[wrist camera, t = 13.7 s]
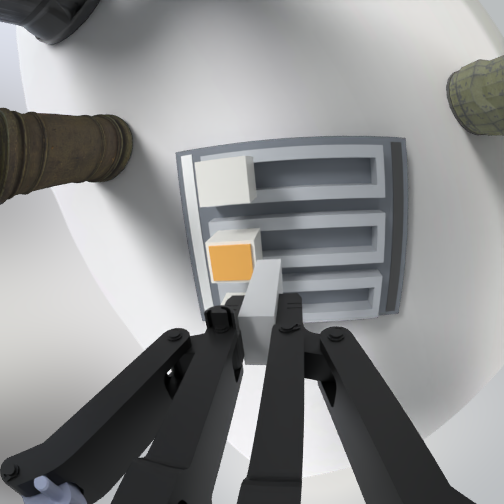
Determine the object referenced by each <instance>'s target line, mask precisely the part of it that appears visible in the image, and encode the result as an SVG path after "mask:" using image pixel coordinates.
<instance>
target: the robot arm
mask: <svg viewBox="0 0 504 504" xmlns="http://www.w3.org/2000/svg"><path fill="white" fill-rule="evenodd" d="M98 2H99V0H0V22H5V23H10V24H15V25H19V26H23V27H24V28H25V29H27V30H28V31H29V32H30V33H32V34H33V35H35V37H36V38H37V39H38V40H39V41H41V42H44V43H47V44H55V43H58V42H60V41H62V40H64V39H65V38H67V37H68V36H69V35H71V34H72V33H73V32H74V31H75V30H76V29H77V28H78V27H79V26H80V25H81V24H82V23H83V22H84V21H85V20H86V19H87V18H88V16H89V15H90V14H91V13H92V11H93V10H94V8H95V7H96V5H97V4H98ZM204 316H205V321H206V326H207V330H206V332H205V333H204V334H200V335H194V336H190V335H189V332H188V331H187V330H185V329H182V328H174V329H171V330H168V331H166V332H165V333H163V334H162V335H161V336H160V337H159V338H158V339H157V340H156V341H155V342H154V343H153V344H151V345H150V346H149V347H148V348H147V349H146V350H145V351H144V352H143V353H142V354H141V355H140V356H138V357H137V358H136V359H135V360H134V361H133V362H132V363H131V364H129V365H128V366H127V367H126V368H125V369H124V370H123V371H122V372H121V373H120V374H119V375H117V376H116V377H115V378H114V379H113V380H112V381H111V382H110V383H109V384H108V385H106V386H105V387H104V388H103V389H102V390H101V391H100V392H99V393H98V394H97V395H95V396H94V397H93V398H92V399H91V400H90V401H89V402H88V403H87V404H86V405H84V406H83V407H82V408H81V409H80V410H79V411H78V412H77V413H76V414H75V415H74V416H73V417H71V418H70V419H69V420H68V421H67V422H66V423H65V424H64V425H63V426H62V427H60V428H59V429H58V430H57V431H56V432H55V433H54V434H53V435H52V436H50V437H49V438H48V439H47V440H46V441H45V442H44V443H42V444H40V445H37V446H35V447H33V448H30V449H28V450H26V451H23V452H21V453H19V454H16V455H14V456H11V457H9V458H7V459H6V460H4V462H3V463H2V465H1V469H0V473H1V477H2V480H3V481H4V482H5V483H6V484H7V485H8V486H10V487H11V488H12V489H13V490H15V491H16V492H17V493H19V494H20V495H21V496H22V498H23V501H24V504H93V503H95V502H96V501H97V500H99V499H101V498H102V497H103V496H104V495H105V494H107V493H108V492H109V491H110V490H111V488H112V487H113V486H114V485H115V484H116V483H117V482H118V481H119V480H120V478H121V477H122V476H123V475H124V474H125V475H124V477H123V479H122V481H121V483H120V485H119V488H118V489H117V491H116V494H115V496H114V498H113V500H112V502H111V504H212V500H211V499H212V493H213V489H214V485H215V481H216V478H217V474H218V471H219V467H220V463H221V459H222V455H223V452H224V448H225V444H226V440H227V436H228V432H229V428H230V424H231V420H232V416H233V412H234V408H235V404H236V400H237V396H238V392H239V388H240V384H241V380H242V376H243V364H242V363H243V359H244V360H245V365H266V372H265V378H264V384H263V390H262V397H261V403H260V409H259V414H258V420H257V426H256V432H255V437H254V443H253V448H252V454H251V459H250V464H249V470H248V474H247V477H246V478H245V479H244V480H243V482H242V484H241V488H240V492H239V496H238V501H237V504H301V488H302V463H303V437H304V378H307V379H312V380H317V381H318V386H319V388H320V390H321V393H322V395H323V398H324V400H325V403H326V405H327V407H328V410H329V412H330V415H331V417H332V420H333V422H334V425H335V427H336V430H337V432H338V435H339V437H340V439H341V442H342V444H343V447H344V449H345V452H346V454H347V457H348V459H349V462H350V464H351V467H352V469H353V472H354V474H355V477H356V480H357V482H358V485H359V487H360V490H361V492H362V495H363V497H364V500H365V502H366V504H476V503H474V502H473V501H471V500H470V499H468V498H467V497H465V496H464V495H463V494H461V493H460V492H458V491H457V490H455V489H454V488H453V487H451V486H450V484H449V483H448V481H447V479H446V478H445V476H444V474H443V472H442V471H441V469H440V467H439V466H438V464H437V462H436V461H435V459H434V457H433V456H432V454H431V453H430V451H429V449H428V448H427V446H426V445H425V443H424V441H423V439H422V438H421V436H420V435H419V433H418V431H417V430H416V428H415V427H414V425H413V424H412V422H411V420H410V419H409V417H408V416H407V414H406V413H405V411H404V410H403V408H402V406H401V405H400V403H399V402H398V400H397V399H396V397H395V396H394V394H393V393H392V391H391V390H390V388H389V387H388V385H387V384H386V382H385V381H384V379H383V378H382V376H381V375H380V373H379V372H378V370H377V369H376V367H375V366H374V365H373V363H372V362H371V360H370V359H369V357H368V356H367V354H366V353H365V351H364V350H363V349H362V347H361V346H360V344H359V343H358V341H357V340H356V339H355V337H354V336H353V334H352V333H351V332H350V331H349V330H348V329H346V328H343V327H337V326H336V327H329V328H326V329H325V330H323V331H322V332H321V334H316V333H312V332H309V331H308V330H306V329H305V328H304V326H303V314H302V297H301V296H300V295H299V294H298V293H283V283H282V267H281V259H267V260H257V262H256V265H255V268H254V271H253V274H252V277H251V279H250V282H249V285H248V288H247V291H246V294H245V295H232V296H231V297H230V298H229V299H228V300H227V301H226V303H225V305H218V306H213V307H210V308H209V309H207V310H206V311H205V312H204ZM170 369H171V371H172V372H171V373H170V374H169V375H167V372H168V371H169V370H170ZM154 438H155V439H154ZM153 440H154V441H153ZM152 441H153V443H152V445H151V447H150V449H149V451H148V453H147V455H146V456H145V457H144V458H139V456H140V455H141V454H142V453H143V452H144V450H145V449H146V448H147V447H148V446H149V445H150V443H151V442H152Z"/></svg>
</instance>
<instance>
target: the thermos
mask: <svg viewBox="0 0 504 504" xmlns="http://www.w3.org/2000/svg"><path fill="white" fill-rule="evenodd" d="M446 90H447V99H448V102H449V105H450V108H451V110H452V112H453V114H454V116H455V118H456V119H457V120H458V122H459V123H460V124H461V126H462V127H464V128H465V129H466V130H467V131H469V132H470V133H473V134H475V135H488V136H495V135H504V55H503V56H500V57H498V58H495V59H493V60H490V61H488V60H481V59H480V60H477V61H475V62H473V63H470V64H468V65H466V66H464V67H462V68H461V69H460V70H459V71H457V72H454V73H452V75H451V76H450V77H449V79H448V82H447V86H446Z"/></svg>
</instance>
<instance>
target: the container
mask: <svg viewBox="0 0 504 504" xmlns="http://www.w3.org/2000/svg"><path fill="white" fill-rule="evenodd" d="M132 144H133V142H132V134H131V131H130V129H129V127H128V125H127V124H126V123H125V122H124V121H123V120H122V119H121V118H119V117H117V116H114V115H102V114H100V115H94V116H89V115H81V116H72V115H60V114H47V113H36V112H28V113H25V114H21V113H18V112H16V111H10V110H9V109H7V108H0V205H1V204H3V203H4V202H5V201H6V200H7V199H10V198H12V197H13V196H15V195H18V194H25V195H26V194H29V193H30V192H32V191H36V190H40V189H44V188H49V187H53V186H57V185H62V184H67V183H82V182H85V181H88V182H105V181H108V180H111V179H113V178H114V177H116V176H117V175H118V174H119V173H120V172H121V171H122V170H123V169H124V168H125V166H126V164H127V162H128V160H129V158H130V155H131V151H132Z"/></svg>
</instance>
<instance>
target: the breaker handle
mask: <svg viewBox="0 0 504 504" xmlns="http://www.w3.org/2000/svg"><path fill="white" fill-rule="evenodd" d="M205 245H206V252H207V258H208V265H209V271H210V277H211V283H246V282H250V279H251V277H252V274H253V271H254V268H255V265H256V262H257V260H263V255H262V244H261V233H260V228H250V229H234V230H220V231H217V232H216V233H215V234H214V235H213V236H212V237H211V238H210V239H208V240H207V241H206V242H205Z"/></svg>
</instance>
